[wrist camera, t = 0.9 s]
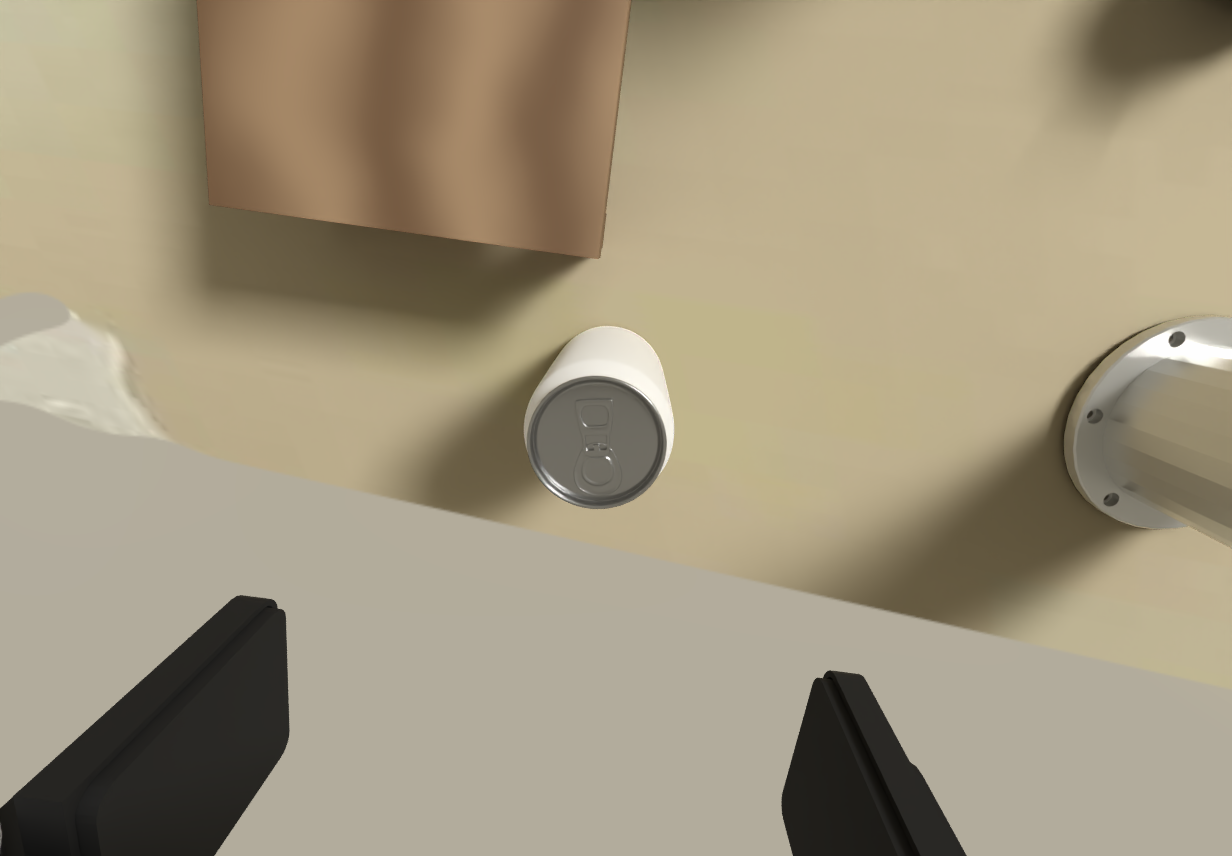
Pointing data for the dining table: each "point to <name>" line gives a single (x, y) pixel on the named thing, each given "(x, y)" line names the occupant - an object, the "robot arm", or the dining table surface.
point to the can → (600, 420)
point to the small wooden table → (418, 114)
